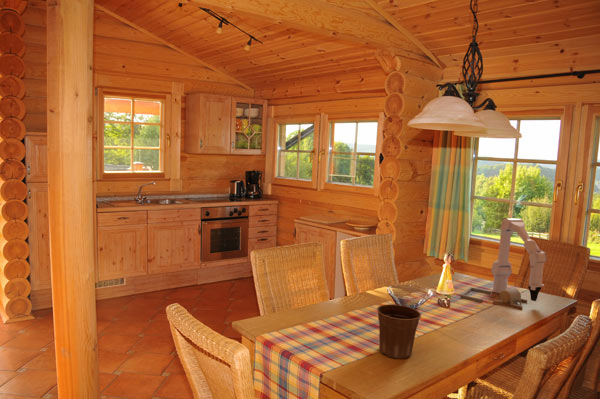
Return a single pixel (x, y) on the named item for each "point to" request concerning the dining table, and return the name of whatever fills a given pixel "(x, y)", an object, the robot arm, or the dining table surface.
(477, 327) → the dining table surface
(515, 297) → the speckled coffee cup
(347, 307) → the dining table surface
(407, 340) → the plant pot
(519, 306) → the walnut dock
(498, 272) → the robot arm
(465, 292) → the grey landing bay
